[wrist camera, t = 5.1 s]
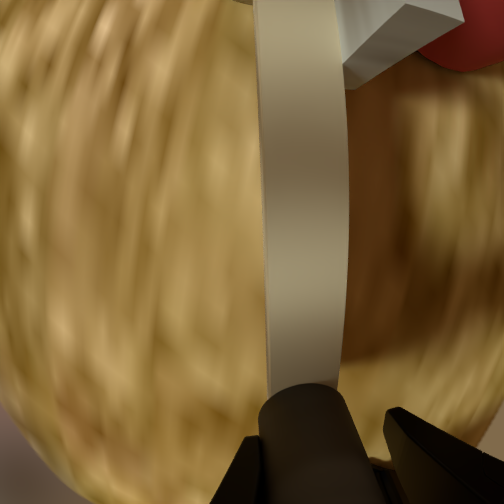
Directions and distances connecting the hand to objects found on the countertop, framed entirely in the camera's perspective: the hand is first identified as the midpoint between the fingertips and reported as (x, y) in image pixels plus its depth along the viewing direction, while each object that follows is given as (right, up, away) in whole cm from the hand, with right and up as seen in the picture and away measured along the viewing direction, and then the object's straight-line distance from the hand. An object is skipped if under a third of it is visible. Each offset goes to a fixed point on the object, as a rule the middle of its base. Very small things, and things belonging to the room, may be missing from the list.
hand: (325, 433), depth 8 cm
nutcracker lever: (-1, +9, +1) cm, 10 cm away
